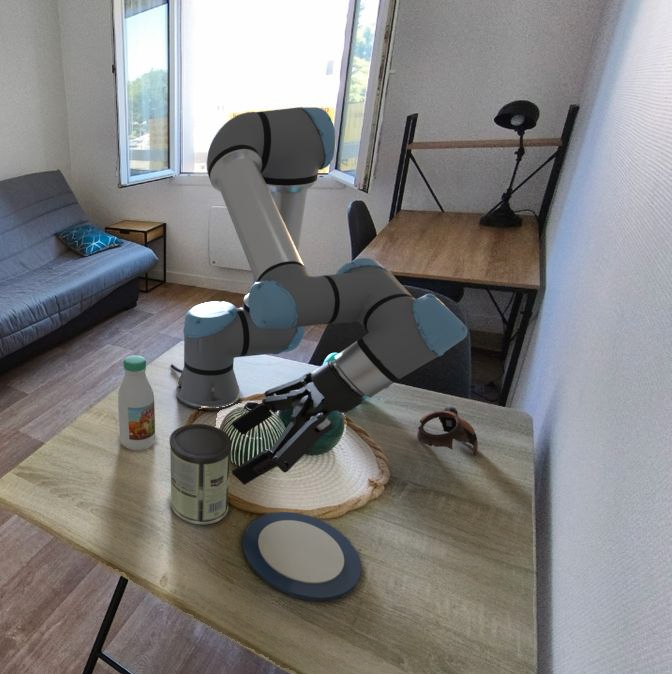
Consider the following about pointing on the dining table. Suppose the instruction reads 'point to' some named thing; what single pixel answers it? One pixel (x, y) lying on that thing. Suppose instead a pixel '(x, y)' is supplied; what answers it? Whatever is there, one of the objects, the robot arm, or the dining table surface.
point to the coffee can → (200, 473)
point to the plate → (301, 556)
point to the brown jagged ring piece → (448, 430)
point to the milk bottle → (136, 406)
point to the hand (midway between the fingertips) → (237, 451)
